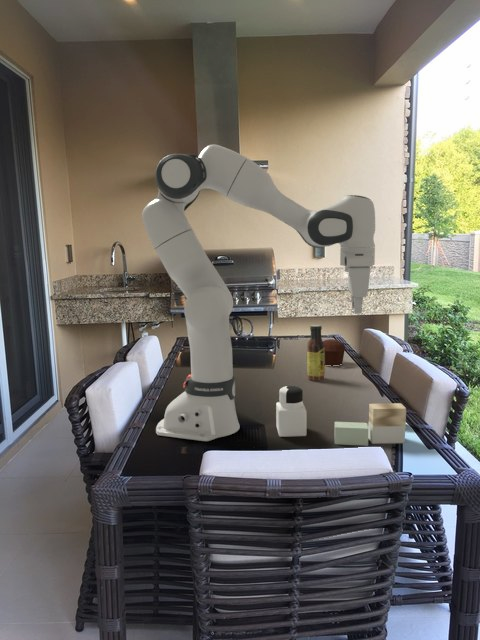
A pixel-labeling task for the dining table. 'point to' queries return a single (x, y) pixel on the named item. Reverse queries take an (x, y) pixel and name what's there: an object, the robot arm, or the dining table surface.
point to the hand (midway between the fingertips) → (356, 310)
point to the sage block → (351, 433)
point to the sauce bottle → (316, 355)
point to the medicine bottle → (291, 412)
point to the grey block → (386, 434)
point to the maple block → (387, 414)
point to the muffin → (333, 352)
